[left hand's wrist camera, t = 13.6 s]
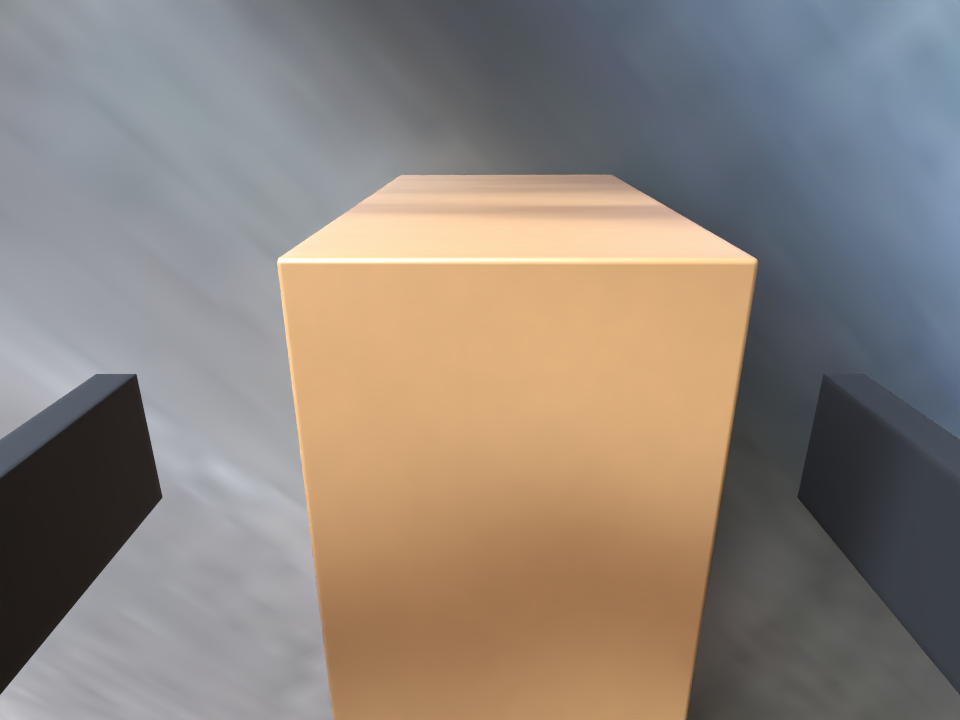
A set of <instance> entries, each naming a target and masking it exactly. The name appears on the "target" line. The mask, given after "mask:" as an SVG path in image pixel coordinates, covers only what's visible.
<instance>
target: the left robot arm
mask: <svg viewBox="0 0 960 720" xmlns="http://www.w3.org/2000/svg"><path fill="white" fill-rule="evenodd" d="M161 499H162V493H161V488H160V484H159V479H158V474H157V469H156V465H155V460H154V455H153V451H152V446H151V441H150V436H149V432H148V427H147V422H146V418H145V413H144V408H143V403H142V399H141V394H140V389H139V385H138V380H137V375H136V374H96V375H94V376H93V377H91V378H90V379H88V380H87V381H86V382H84V383H83V384H81V385H80V386H78V387H77V388H75V389H74V390H72V391H71V392H69V393H68V394H67V395H65V396H64V397H62V398H61V399H59V400H58V401H56V402H55V403H53V404H52V405H50V406H49V407H48V408H46V409H45V410H43V411H42V412H40V413H39V414H37V415H36V416H34V417H33V418H32V419H30V420H29V421H27V422H26V423H24V424H23V425H21V426H20V427H18V428H17V429H15V430H14V431H13V432H11V433H10V434H8V435H7V436H5V437H4V438H2V439H1V440H0V694H1V693H2V692H3V691H4V689H5V688H6V687H7V686H8V685H9V683H10V682H11V681H12V680H13V679H14V677H15V676H16V675H17V674H18V672H19V671H20V670H21V669H22V668H23V666H24V665H25V664H26V663H27V662H28V660H29V659H30V658H31V657H32V655H33V654H34V653H35V652H36V651H37V649H38V648H39V647H40V646H41V644H42V643H43V642H44V641H45V640H46V638H47V637H48V636H49V635H50V634H51V632H52V631H53V630H54V629H55V627H56V626H57V625H58V624H59V623H60V621H61V620H62V619H63V618H64V617H65V615H66V614H67V613H68V612H69V610H70V609H71V608H72V607H73V606H74V604H75V603H76V602H77V601H78V599H79V598H80V597H81V596H82V595H83V593H84V592H85V591H86V590H87V589H88V587H89V586H90V585H91V584H92V582H93V581H94V580H95V579H96V578H97V576H98V575H99V574H100V573H101V572H102V570H103V569H104V568H105V567H106V565H107V564H108V563H109V562H110V561H111V559H112V558H113V557H114V556H115V554H116V553H117V552H118V551H119V550H120V548H121V547H122V546H123V545H124V544H125V542H126V541H127V540H128V539H129V537H130V536H131V535H132V534H133V533H134V531H135V530H136V529H137V528H138V527H139V525H140V524H141V523H142V522H143V520H144V519H145V518H146V517H147V516H148V514H149V513H150V512H151V511H152V510H153V508H154V507H155V506H156V505H157V503H158V502H159V501H160V500H161ZM798 499H799V500H800V501H801V502H802V503H803V505H804V506H805V507H806V508H807V510H808V511H809V512H810V513H811V514H812V516H813V517H814V518H815V519H816V520H817V522H818V523H819V524H820V525H821V527H822V528H823V529H824V530H825V531H826V533H827V534H828V535H829V536H830V537H831V539H832V540H833V541H834V542H835V544H836V545H837V546H838V547H839V548H840V550H841V551H842V552H843V553H844V555H845V556H846V557H847V558H848V559H849V561H850V562H851V563H852V564H853V565H854V567H855V568H856V569H857V570H858V572H859V573H860V574H861V575H862V576H863V578H864V579H865V580H866V581H867V582H868V584H869V585H870V586H871V587H872V589H873V590H874V591H875V592H876V593H877V595H878V596H879V597H880V598H881V599H882V601H883V602H884V603H885V604H886V606H887V607H888V608H889V609H890V610H891V612H892V613H893V614H894V615H895V617H896V618H897V619H898V620H899V621H900V623H901V624H902V625H903V626H904V627H905V629H906V630H907V631H908V632H909V634H910V635H911V636H912V637H913V638H914V640H915V641H916V642H917V643H918V644H919V646H920V647H921V648H922V649H923V651H924V652H925V653H926V654H927V655H928V657H929V658H930V659H931V660H932V662H933V663H934V664H935V665H936V666H937V668H938V669H939V670H940V671H941V672H942V674H943V675H944V676H945V677H946V679H947V680H948V681H949V682H950V683H951V685H952V686H953V687H954V688H955V689H956V691H957V692H958V693H959V694H960V440H959V439H958V438H956V437H955V436H953V435H952V434H950V433H949V432H947V431H946V430H945V429H943V428H942V427H940V426H939V425H937V424H936V423H934V422H933V421H931V420H930V419H928V418H927V417H926V416H924V415H923V414H921V413H920V412H918V411H917V410H915V409H914V408H912V407H911V406H910V405H908V404H907V403H905V402H904V401H902V400H901V399H899V398H898V397H896V396H895V395H893V394H892V393H891V392H889V391H888V390H886V389H885V388H883V387H882V386H880V385H879V384H877V383H876V382H874V381H873V380H872V379H870V378H869V377H867V376H866V375H864V374H824V375H823V380H822V384H821V389H820V394H819V399H818V403H817V408H816V413H815V418H814V422H813V427H812V432H811V436H810V441H809V446H808V451H807V455H806V460H805V465H804V469H803V474H802V479H801V484H800V488H799V493H798Z"/></svg>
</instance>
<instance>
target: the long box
mask: <svg viewBox="0 0 960 720" xmlns="http://www.w3.org/2000/svg"><path fill="white" fill-rule="evenodd" d="M277 266H278V274H279V282H280V291H281V299H282V307H283V315H284V323H285V331H286V339H287V348H288V356H289V364H290V372H291V380H292V388H293V397H294V405H295V413H296V421H297V429H298V437H299V445H300V454H301V462H302V470H303V478H304V486H305V494H306V503H307V511H308V519H309V527H310V535H311V543H312V551H313V560H314V568H315V576H316V584H317V592H318V600H319V608H320V617H321V625H322V633H323V641H324V649H325V657H326V666H327V674H328V682H329V690H330V698H331V706H332V714H333V720H686V719H687V713H688V706H689V700H690V694H691V687H692V681H693V674H694V668H695V662H696V655H697V649H698V643H699V636H700V630H701V624H702V617H703V611H704V605H705V598H706V592H707V586H708V579H709V573H710V566H711V560H712V554H713V547H714V541H715V535H716V528H717V522H718V516H719V509H720V503H721V497H722V490H723V484H724V478H725V471H726V465H727V458H728V452H729V446H730V439H731V433H732V427H733V420H734V414H735V408H736V401H737V395H738V389H739V382H740V376H741V370H742V363H743V357H744V351H745V344H746V338H747V331H748V325H749V319H750V312H751V306H752V300H753V293H754V287H755V281H756V274H757V268H758V261H757V259H756V258H754V257H753V256H751V255H749V254H747V253H746V252H744V251H742V250H740V249H739V248H737V247H735V246H734V245H732V244H730V243H728V242H727V241H725V240H723V239H722V238H720V237H718V236H716V235H715V234H713V233H711V232H710V231H708V230H706V229H704V228H703V227H701V226H699V225H697V224H696V223H694V222H692V221H691V220H689V219H687V218H685V217H684V216H682V215H680V214H679V213H677V212H675V211H673V210H672V209H670V208H668V207H666V206H665V205H663V204H661V203H660V202H658V201H656V200H654V199H653V198H651V197H649V196H648V195H646V194H644V193H642V192H641V191H639V190H637V189H636V188H634V187H632V186H630V185H629V184H627V183H625V182H623V181H622V180H620V179H618V178H617V177H615V176H613V175H401V176H399V177H397V178H396V179H394V180H393V181H391V182H390V183H388V184H387V185H386V186H384V187H383V188H381V189H380V190H378V191H377V192H375V193H374V194H372V195H371V196H369V197H368V198H366V199H365V200H363V201H362V202H361V203H359V204H358V205H356V206H355V207H353V208H352V209H350V210H349V211H347V212H346V213H344V214H343V215H341V216H340V217H339V218H337V219H336V220H334V221H333V222H331V223H330V224H328V225H327V226H325V227H324V228H322V229H321V230H319V231H318V232H316V233H315V234H314V235H312V236H311V237H309V238H308V239H306V240H305V241H303V242H302V243H300V244H299V245H297V246H296V247H294V248H293V249H292V250H290V251H289V252H287V253H286V254H284V255H283V256H281V257H280V258H278V262H277Z"/></svg>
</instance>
